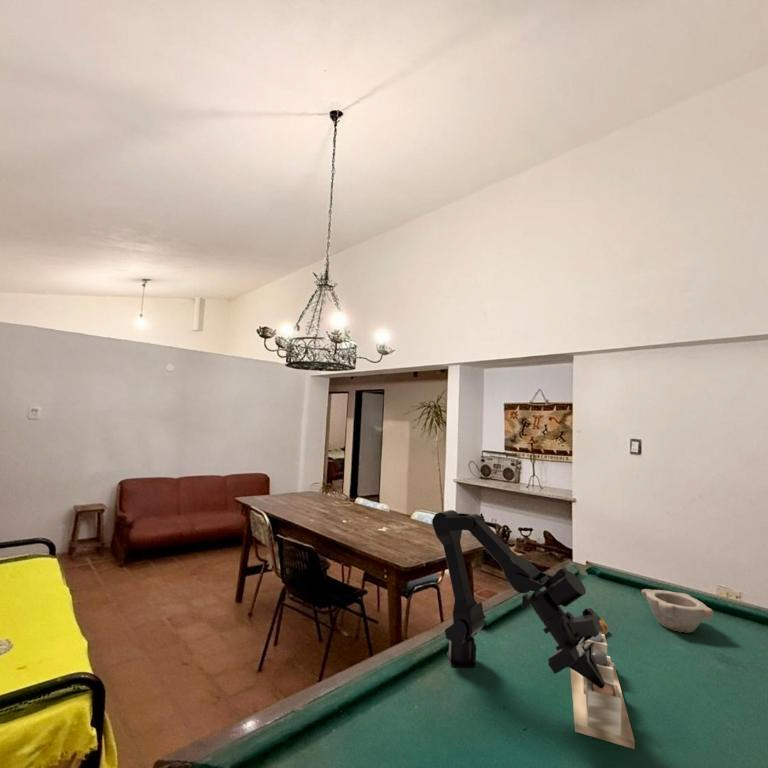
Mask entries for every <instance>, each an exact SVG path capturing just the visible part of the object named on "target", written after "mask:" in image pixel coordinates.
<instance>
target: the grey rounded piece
mask: <svg viewBox="0 0 768 768" xmlns="http://www.w3.org/2000/svg"><path fill="white" fill-rule="evenodd" d="M593 656H594V659H595V662H596V664H599V665H603V666H607V656H608V654H607V655H606V653H604V652H603V651H601V650H598V649H593Z"/></svg>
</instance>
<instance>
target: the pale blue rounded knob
mask: <svg viewBox="0 0 768 768" xmlns="http://www.w3.org/2000/svg"><path fill="white" fill-rule="evenodd" d="M589 640H592V641H596V642H601V632H600V633H599V635H597V636H596V637H594V636H593V637H592V638H590V639H589Z"/></svg>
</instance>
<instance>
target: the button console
mask: <svg viewBox="0 0 768 768" xmlns="http://www.w3.org/2000/svg"><path fill="white" fill-rule="evenodd" d="M586 642H587V643H588V645H590V644H592V643H594V648H593V649H598V650H601V651H603V652H604V653H606V655H607V666H603V665H599V664H597V667H598V669H599V671H600V673H601V676H602V678H603V681H604V683H605V684H606V685H608V686H610V687H611V688H612V689H613V696H611V695H607V694H603V693H599V692H595V691H593V683H592V682H591V681H589V680H588V679H587V678H585V677H584V676H582V675H581V674H579V673H578V672H576V671H574V670H573V669H571V668H569V669H570V680H571V684H570V685H571V695H572V706H573V719H574V731H575V733H579V734H582V735H585V736H589V737H593V738H595V739H600V740H602V741H606V742H609V743H612V744H616V745H619V746H623V747H625V748H629V749H633V750H635V749H636V747H635V745H636V744H635V743H636V741H635V737H634V734H633V730H632V727H631V722H630V719H629V714H628V711H627V706H626V704H625V700H624V696H623V692H622V688H621V685H620V681H619V677H618V673H617V670H616V666H615V663H614V662H612V659H611V656H609V655H608V643H607V639H606V635H604V634H601V642H596V641H592V640H587V641H585V643H586Z"/></svg>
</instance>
